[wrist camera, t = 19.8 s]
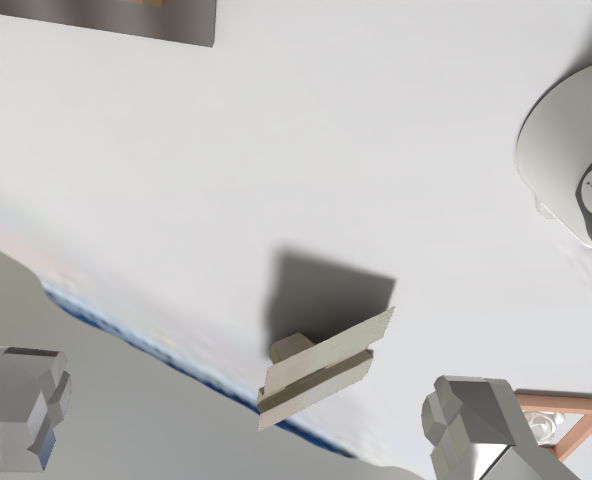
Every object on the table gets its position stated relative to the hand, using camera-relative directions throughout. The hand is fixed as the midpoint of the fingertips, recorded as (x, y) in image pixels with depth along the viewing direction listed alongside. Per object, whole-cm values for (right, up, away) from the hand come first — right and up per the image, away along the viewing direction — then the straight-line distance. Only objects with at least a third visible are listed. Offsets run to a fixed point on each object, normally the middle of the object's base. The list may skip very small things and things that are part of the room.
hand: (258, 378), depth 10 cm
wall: (+4, -10, +52) cm, 53 cm away
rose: (+39, -25, +66) cm, 81 cm away
